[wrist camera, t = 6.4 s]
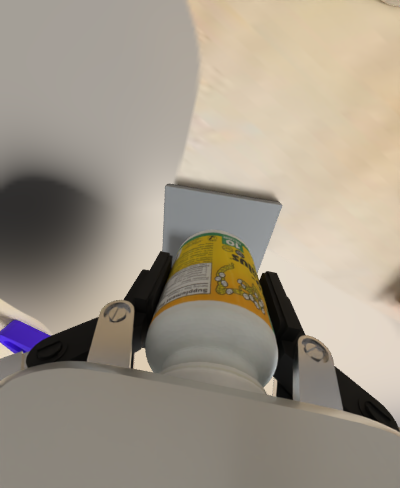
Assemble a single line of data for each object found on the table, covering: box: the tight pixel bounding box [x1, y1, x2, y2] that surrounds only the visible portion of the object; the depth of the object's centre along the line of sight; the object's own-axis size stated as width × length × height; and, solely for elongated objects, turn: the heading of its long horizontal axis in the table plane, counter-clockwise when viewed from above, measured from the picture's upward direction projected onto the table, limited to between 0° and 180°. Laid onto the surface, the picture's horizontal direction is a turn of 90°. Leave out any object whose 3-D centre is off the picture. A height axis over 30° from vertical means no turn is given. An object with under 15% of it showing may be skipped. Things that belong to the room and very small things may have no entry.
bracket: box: [0, 320, 50, 353], centre depth 47 cm, size 18×11×12 cm, turn 36°
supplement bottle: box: [145, 230, 278, 395], centre depth 9 cm, size 5×5×10 cm
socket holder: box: [162, 184, 282, 273], centre depth 30 cm, size 22×16×4 cm
